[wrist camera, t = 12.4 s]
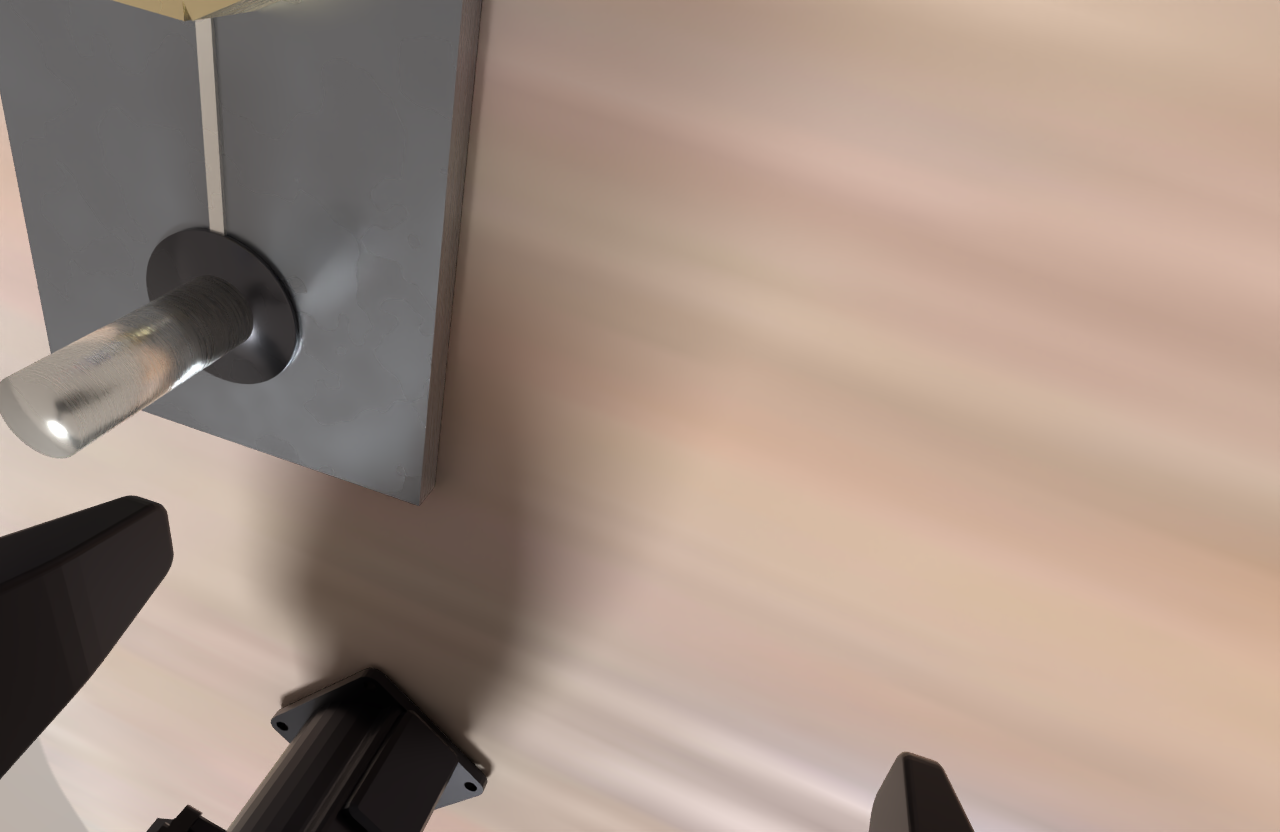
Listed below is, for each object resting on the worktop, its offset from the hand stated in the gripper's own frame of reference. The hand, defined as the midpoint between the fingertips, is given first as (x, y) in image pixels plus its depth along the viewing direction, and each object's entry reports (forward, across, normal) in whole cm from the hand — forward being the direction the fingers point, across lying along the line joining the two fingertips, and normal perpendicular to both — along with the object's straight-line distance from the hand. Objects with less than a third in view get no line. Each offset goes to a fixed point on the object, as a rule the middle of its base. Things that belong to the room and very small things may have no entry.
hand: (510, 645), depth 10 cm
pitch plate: (+12, +12, -2) cm, 17 cm away
